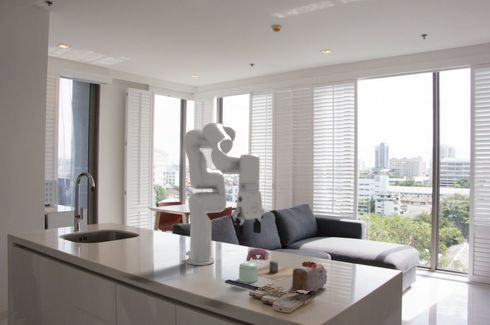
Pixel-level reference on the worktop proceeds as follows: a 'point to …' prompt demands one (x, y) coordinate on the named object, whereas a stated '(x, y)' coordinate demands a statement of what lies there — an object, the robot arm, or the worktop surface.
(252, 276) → the cap
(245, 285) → the mat
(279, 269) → the post stand
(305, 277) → the food item
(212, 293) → the worktop surface
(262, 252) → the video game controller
